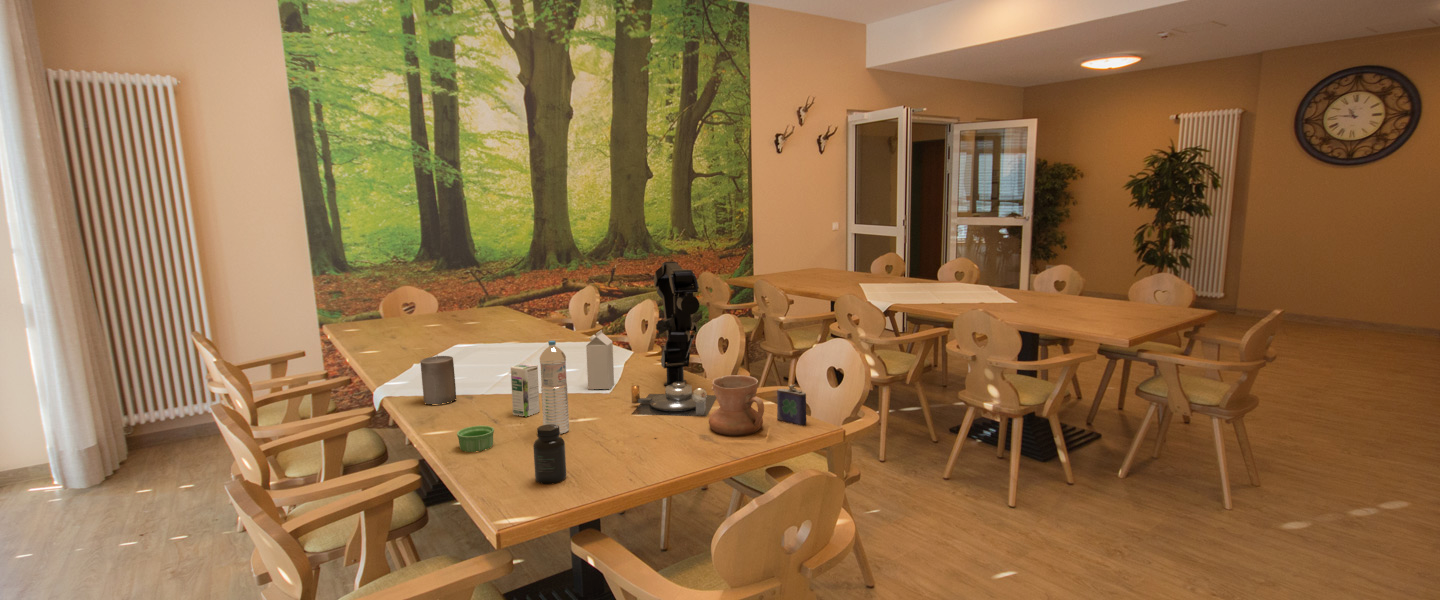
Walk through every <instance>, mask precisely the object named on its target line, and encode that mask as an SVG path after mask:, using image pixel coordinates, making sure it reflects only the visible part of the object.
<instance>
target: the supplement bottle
mask: <svg viewBox="0 0 1440 600" xmlns="http://www.w3.org/2000/svg"><path fill="white" fill-rule="evenodd" d="M536 431H537V432H536V433H537V434H536V436H537V439H536V440H535V441H534V442H533V460H534V461H533V462H534V463H533V464H534V477H535V478H534V479H535V482H537V483H538V482H539V484H541V483H543V484H542V485H553V484H552V483H554V484H558V483H561V482H563V481H564V480H565V479H566V478H567V461H566V460H567V459H566V444H565V439H564V438H563V436H562V437H561V436H560V435H561V434H560V430H559V426H558V425H555V424H548V425H543V424H542V425H540V426H538V427H537V430H536ZM562 480H563V481H562ZM560 481H561V482H560ZM557 482H558V483H557Z"/></svg>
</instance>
